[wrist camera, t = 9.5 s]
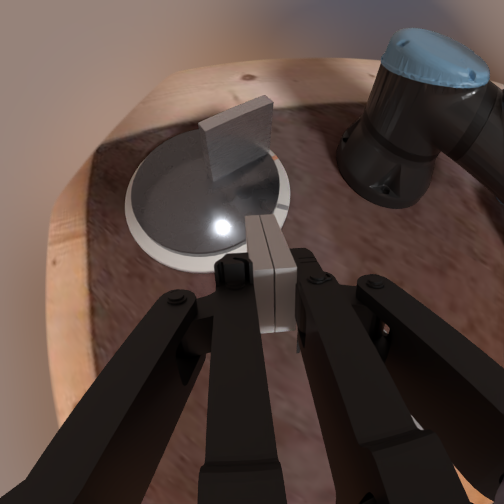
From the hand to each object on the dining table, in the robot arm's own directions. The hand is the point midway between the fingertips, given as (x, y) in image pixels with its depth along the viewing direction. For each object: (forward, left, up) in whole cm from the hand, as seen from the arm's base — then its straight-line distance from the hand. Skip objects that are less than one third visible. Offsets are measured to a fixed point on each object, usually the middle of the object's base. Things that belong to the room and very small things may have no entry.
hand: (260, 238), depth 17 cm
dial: (-1, -17, -17) cm, 24 cm away
